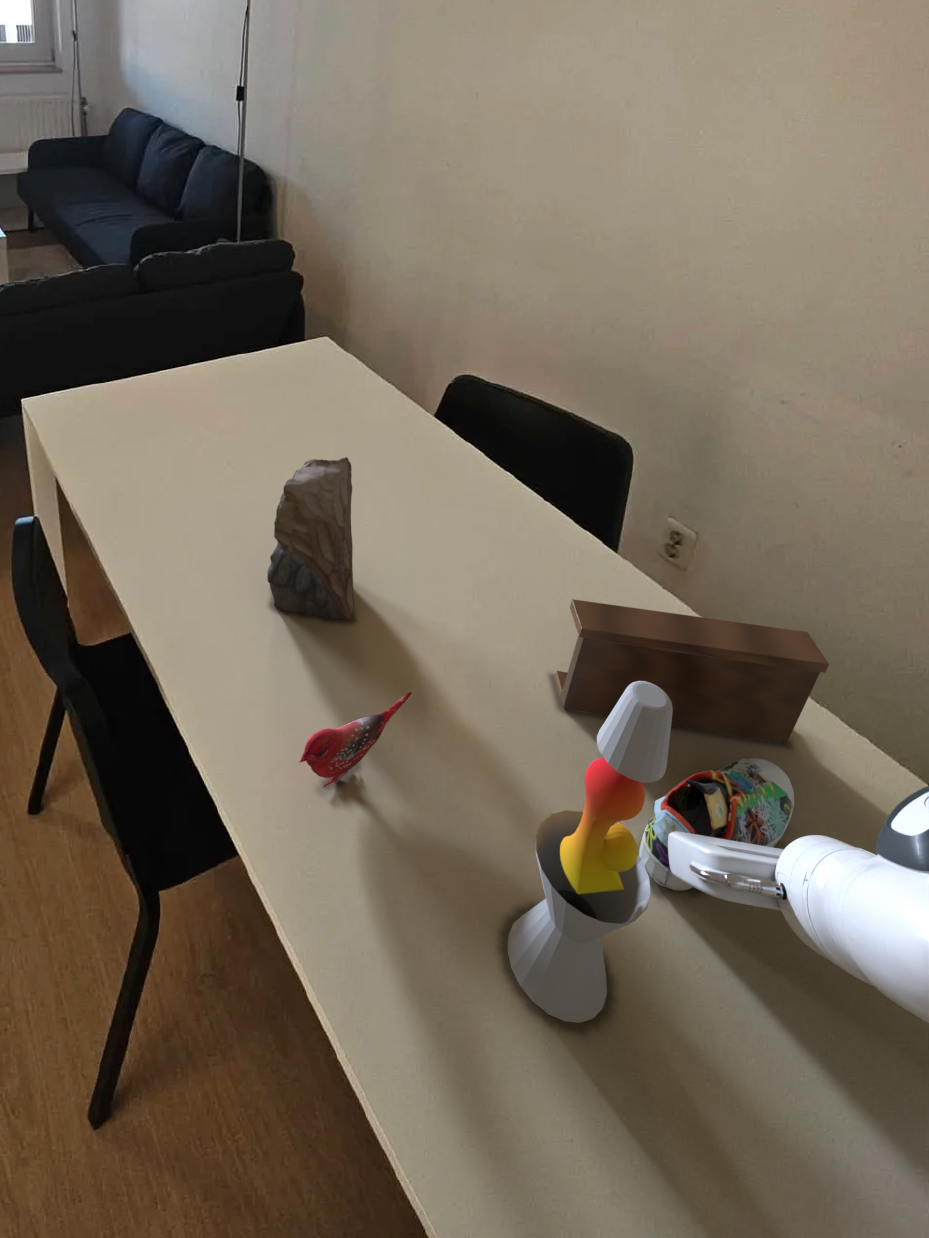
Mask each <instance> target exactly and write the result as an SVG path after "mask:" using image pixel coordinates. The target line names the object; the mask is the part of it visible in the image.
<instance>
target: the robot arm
mask: <svg viewBox="0 0 929 1238" xmlns="http://www.w3.org/2000/svg"><path fill="white" fill-rule="evenodd" d="M881 827H882V828H881V830H880V831H879V834H878V836H877V839H876V843H875V853H876V854H875V853H873V852H870V851H868V850H866V849H863V848H860V847H855V846H853V845H851V844H848V843H846V842H844V841H841V840H839V839H836V838H833V837H830V836H826V835H821V834H811V835H810V834H809V835H805V836H801V837H799V838H796V839H794V840H793V841H791V842H789V844H788V845H786V847H785V848H777V847H767V846H761V845H755V844H749V843H743V842H737V841H732V840H726V839H720V838H714V837H708V836H702V835H696V834H691V833H685V832H679V831H674V832H671V833H670V834H669V836H668V856H669V864H670V869H671V872H672V873H673V875H674V876H676V877H677V878H678V879H680V880H682V881H684V882H685V883H687V884H689V885H691V886H693V888H694V889H697V890H698V891H700V892H702V893H704V894H707V895H709V896H712V897H713V898H718V899H720V900H724V901H728V902H732V903H736V904H742V905H748V906H753V907H757V908H758V907H759V908H763V909H768V910H774V911H780V912H781V913H782V915H783V917H784V919H785V921H786V923H787V924H788V926H789V927H790V929H791V930H792V932H793V933H794V934H795V935H796V937H798V938H799V940H801V941H802V942H803V943H804V944H805V945H806V946H807V947H808V948H809V949H811V950H812V951H813V952H815V953H816V954H818V955H819V956H821V957H823V958H825V959H826V960H828V961H829V962H831V963H832V964H834V965H835V966H837V967H838V968H840V969H841V970H843V971H845V972H846V973H848V974H849V975H851V976H853V977H854V978H856V979H857V980H860V981H862V982H864V983H865V984H868V985H870V986H873V987H875V988H876V989H877V990H878V991H879V992H880V993H882V994H883V996H885V997H887V998H888V999H889V1000H890V1001H892V1002H894V1003H895V1004H896V1005H898V1006H899V1007H901V1008H903V1009H904V1010H906V1011H908V1012H909V1013H911V1014H912V1015H914V1016H916V1017H918V1018H920V1019H921V1020H922V1021H924V1022H926V1023H927V1024H929V785H928V786H924V787H922V788H920V789H917V790H916V791H914V792H913V793H911V794H909V795H908V796H907V797H905V798H903V799H902V801H900V802H899V803H898V804H897V805H896V806H895V807H894V808H893V809H892V810H891V812H890V813H889V815H888V816H887V817H886V819H885V821H884V823H883V825H882V826H881Z"/></svg>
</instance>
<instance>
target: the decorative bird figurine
mask: <svg viewBox="0 0 929 1238" xmlns="http://www.w3.org/2000/svg"><path fill="white" fill-rule="evenodd" d="M412 694H413V691H409V692H407V693H406V694H405V695H403V696H402V697H401V698H399V699H398V700H397V701H395V702H394V703H393V704H391V705H390V706H389V707H388V708H387V709H385V710H384V711H382V712H381V713H379V714H372V715H368V716H364V717H360V718H357V719H355V720H353V721H351V722H348V723H346V724H344V725H341V726H339V727H336V728H323V729H320V730H318V731H316V732H315V733H313V734H312V735H311V736H310V737H309V738H308V740H307V741H306V743H305V746H304V750H303V753H302V755H301V756H300V759H299V763H303V762H306V764H307V765H308V766H309V767H310V769H311V771H312V772H313V773H314V774H316V775H317V776H318V777H320V778H325V779H330V780H329V781H327V782H326V783H324V785H323V786H322V789H324V788H325V787H328V786H329V785H331V784H332V783H337V782H338V781H339V780H340V779H342V778H343V777H344V776H345V775H346V774H347V773H348V772H349V771H350V770H351V769H353V768H354V767H355V766H356V765H358V764H359V763H360V762H361V761H362V760H363V758H365V756H366V755H367V754H368V752H369V751H370V750H371V748H372V747H373V746H374V745H375V744H376V742H377V741H378V740H379V738H380V737H381V735H382V733H383V731H384V730H385V728H386V725H387V724H388V723H389V721H390V719H392V717H394V715H395V714H396V713H397V712H398V710H399V709H400V708H401V707H402V706H403V705H404V704H405V703H406V701H408V699H409V698H410V697H411V695H412Z"/></svg>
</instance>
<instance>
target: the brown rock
mask: <svg viewBox="0 0 929 1238" xmlns="http://www.w3.org/2000/svg"><path fill="white" fill-rule="evenodd" d="M282 487H283V488H282V489H283V492H282V494H281V496H280V498H279V499H280V500H279V503H278V505H277V507H276V511H275V512H276V513H275V519H274V524H273V525H274V529H273V530H274V531H273V537H274V539H275V540H276V542H277V544H276V546H275V549H274V550H273V552H272V554H271V555H270V557H269V559H270V564H269V567H268V569H267V576H266V577H267V582H268V583H269V587H270V592H271V594H272V597H273V607H275V608H276V609H278V610H280V611H284V612H296V613H297V612H298V613H299V614H301V615H312V616H320V617H323V618H325V619H329V620H344V621H353V615H352V613H353V610H354V609H355V593H354V573H353V535H352V533H353V532H352V495H353V483H352V463H351V461H350V460H349V457H347V456H344V457H341V458H339V459H336V460H334V459H317V458H313V459H309V460H306V461H305V462H304V463H303V465H302V467H300V468H298V469H296V470H295V472H294V474H293V476H292V477H291V478H288V479H287V480H286V481H285V484H284V486H282Z"/></svg>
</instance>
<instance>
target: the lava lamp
mask: <svg viewBox="0 0 929 1238" xmlns="http://www.w3.org/2000/svg"><path fill="white" fill-rule="evenodd" d="M672 713H673V708H672V702H671V700H670V699H669V697H668V695H667V694H666V693H665V692H664V691H663V690H662V689H661V688H659V687H658V686H656V685H654V684H652V683H649V682H646V681H636V682H633V683H631V684H630V685H629V686H628V687H627V688H626V690H625V691H624V693H623V694H622V696H621V697H620V699H619V701H618V702H617V704H616V705H615V707H614V708H613V710H612V712H611V713H610V715H609V716H608V715H607V718H606V720H605V721H604V723H603V724H602V725H601V727H600V728H599V731H598V733H597V735H596V746H597V749H598V750H599V753H600V755H601V756H602V757H599V758H595V760H593V761H592V762H590V764H589V765H588V767H587V768H586V771H585V774H584V807H583V811H580V810H579V811H578V810H561V811H558V812H554V813H551V814H550V815H549V816H547V818H546V817H545V819H544V820H542V821H541V823H540V826H539V827H538V830H537V832H536V835H535V856H536V862H537V865H538V870H539V875H540V879H541V884H542V888H543V892H544V896H545V898H544V899H543V900H542V901H539V902H538V903H537V904H536V905H534V906H533V907H532V908H530V909H529V910H528V911H526V912H525V913H523V914H522V915H521V916H520V917H519V918H518V919H516V920H515V921H514V923H513V924H512V925H511V929H510V931H509V933H508V935H507V955H508V958H509V959H508V960H509V964H510V968H511V971H512V972H513V974H514V977H515V978H516V981H517V983H518V985H519V986H520V988H521V989H522V990H523V991H524V993H525V995H527V997H528V998H529V999H530V1000H531V1002H532V1003H534V1004H535V1005H536V1006H537V1007H539V1008H540V1009H541V1010H542V1011H544V1012H545V1013H546V1014H547V1015H549V1016H551V1017H554V1018H557V1019H558V1020H560V1021H563V1022H568V1023H576V1024H577V1023H578V1024H581V1023H584V1022H587V1021H590V1020H593V1019H594V1018H595V1017H596V1016H597V1015H598V1014H599V1013H600V1012H601V1011H602V1010H603V1009H604V1007H605V1003H606V999H607V996H608V985H607V984H608V983H607V973H606V971H607V970H606V966H605V958H604V950H603V944H602V937H604V936H606V935H609V934H611V933H613V932H616V931H618V930H619V929H622V928H623V927H627V926H628V925H631V924H632V923H634V922H636V921H637V920H638V919H639V918H640V917H641V915H643V914H644V912H646V910H647V909H648V906H649V901H650V898H651V895H652V894H651V882H650V876H649V873H648V871H647V870H646V869H645V866H644V864H643V861H642V859H641V857H640V856H639V849H638V848H639V847H638V843H637V841H636V839H635V836H634V835H633V834H632V832H631V831H630V830H629V828H628V827H626V826H625V825H624V824H622V823H621V822H622V821H630V820H632V819H634V818H636V817H637V816H638V815H639V814H640V813H641V811H642V810H643V809H644V806H645V800H646V792H645V787H644V784H643V783H653V782H657V781H660V779H661V778H663V777H664V776H665V773H666V770H667V764H668V755H669V748H670V739H671V729H672V726H671V722H672Z"/></svg>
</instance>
